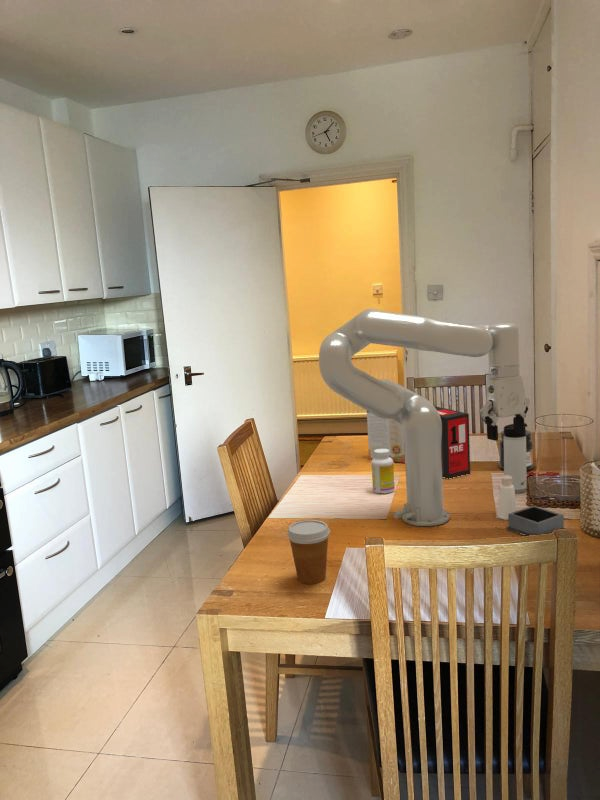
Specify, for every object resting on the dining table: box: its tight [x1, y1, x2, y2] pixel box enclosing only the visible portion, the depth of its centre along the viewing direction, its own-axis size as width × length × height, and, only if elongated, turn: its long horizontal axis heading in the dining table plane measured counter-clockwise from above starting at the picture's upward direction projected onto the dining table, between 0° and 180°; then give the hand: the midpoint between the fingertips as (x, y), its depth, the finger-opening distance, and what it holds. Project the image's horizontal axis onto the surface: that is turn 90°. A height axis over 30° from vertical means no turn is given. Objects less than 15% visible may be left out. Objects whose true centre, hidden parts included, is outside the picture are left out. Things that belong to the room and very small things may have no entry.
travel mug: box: [503, 422, 528, 494], centre depth 195 cm, size 6×7×20 cm
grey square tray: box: [505, 505, 567, 537], centre depth 166 cm, size 10×10×4 cm
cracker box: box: [366, 410, 405, 464], centre depth 236 cm, size 14×6×21 cm, turn 58°
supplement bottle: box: [370, 449, 396, 495], centre depth 203 cm, size 7×7×13 cm
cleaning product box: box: [434, 405, 471, 480], centre depth 218 cm, size 16×9×20 cm, turn 26°
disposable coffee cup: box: [286, 519, 331, 585], centre depth 148 cm, size 10×10×12 cm
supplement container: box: [498, 430, 534, 472], centre depth 217 cm, size 10×10×12 cm
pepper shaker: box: [496, 475, 518, 521], centre depth 176 cm, size 5×5×11 cm
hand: (506, 436), depth 174 cm, fingers open, 9 cm apart
